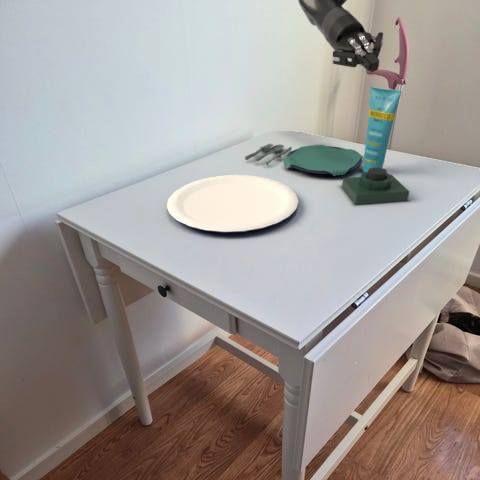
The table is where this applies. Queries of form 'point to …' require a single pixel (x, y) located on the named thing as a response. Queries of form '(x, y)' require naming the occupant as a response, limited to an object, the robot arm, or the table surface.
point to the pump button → (376, 174)
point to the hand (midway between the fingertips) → (375, 67)
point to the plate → (232, 203)
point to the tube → (379, 126)
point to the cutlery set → (315, 158)
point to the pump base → (374, 189)
